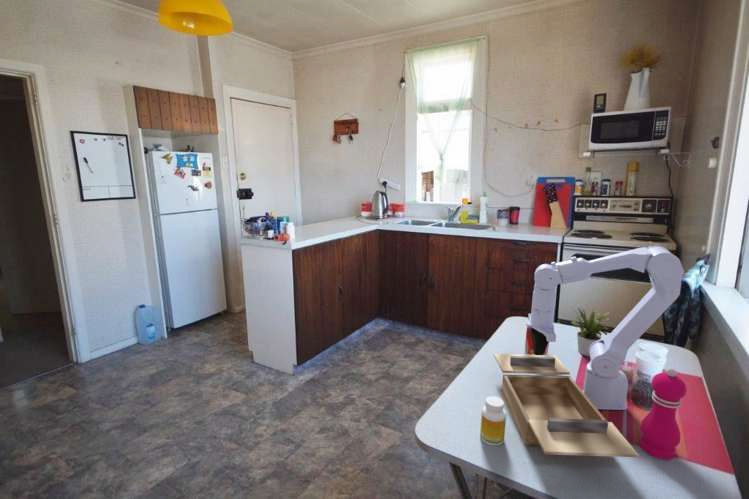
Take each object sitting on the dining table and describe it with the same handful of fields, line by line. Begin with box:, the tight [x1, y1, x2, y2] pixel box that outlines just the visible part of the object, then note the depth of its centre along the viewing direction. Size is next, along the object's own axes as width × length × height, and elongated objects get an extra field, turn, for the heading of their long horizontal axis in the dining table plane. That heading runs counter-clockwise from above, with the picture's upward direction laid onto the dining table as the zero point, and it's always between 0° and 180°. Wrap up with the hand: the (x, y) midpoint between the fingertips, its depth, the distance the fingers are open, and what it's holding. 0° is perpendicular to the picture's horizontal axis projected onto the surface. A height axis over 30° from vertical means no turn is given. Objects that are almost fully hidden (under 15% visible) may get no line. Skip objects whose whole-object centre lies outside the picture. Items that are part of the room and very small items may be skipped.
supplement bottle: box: [479, 396, 507, 447], centre depth 90 cm, size 5×5×10 cm
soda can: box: [524, 325, 550, 355], centre depth 127 cm, size 7×7×12 cm
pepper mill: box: [639, 367, 687, 460], centre depth 85 cm, size 7×7×20 cm
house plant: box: [568, 306, 611, 357], centre depth 130 cm, size 14×14×16 cm
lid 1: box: [493, 353, 571, 376], centre depth 111 cm, size 18×10×3 cm, turn 87°
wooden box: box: [501, 374, 608, 447], centre depth 97 cm, size 18×20×6 cm
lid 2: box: [528, 418, 640, 458], centre depth 81 cm, size 18×10×3 cm, turn 87°
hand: (538, 354), depth 109 cm, fingers closed
